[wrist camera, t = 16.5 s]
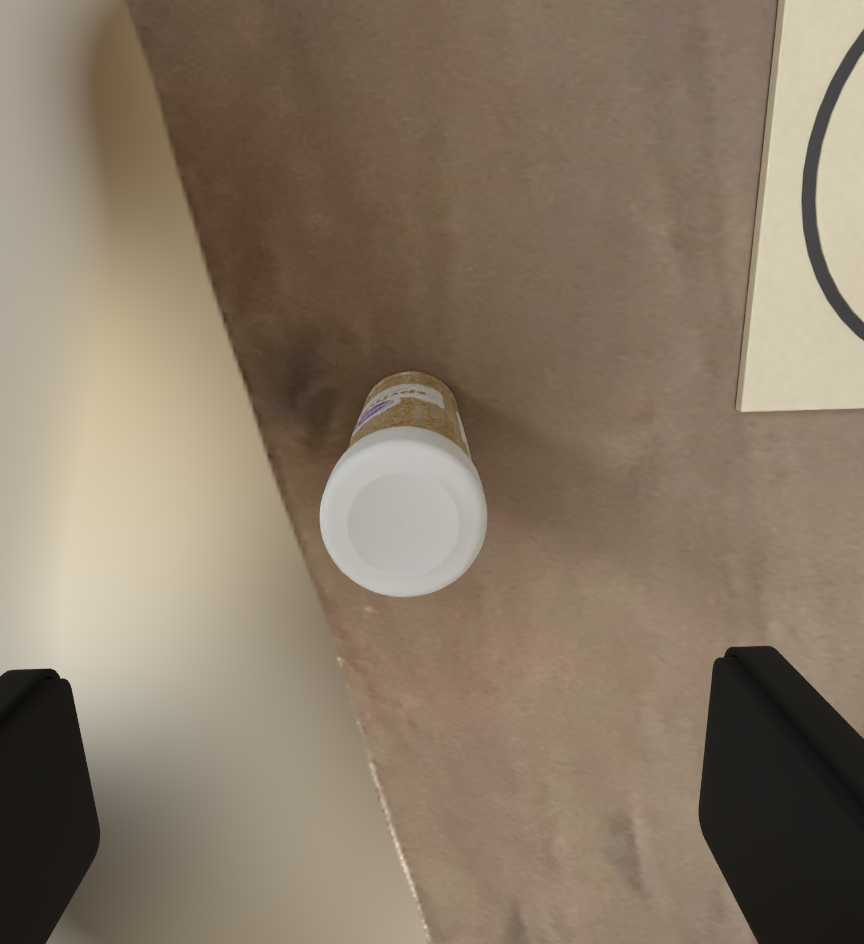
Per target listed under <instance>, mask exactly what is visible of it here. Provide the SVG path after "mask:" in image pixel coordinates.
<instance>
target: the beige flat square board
mask: <svg viewBox="0 0 864 944" xmlns="http://www.w3.org/2000/svg"><path fill="white" fill-rule="evenodd" d="M863 408H864V0H779V2H778V12H777V21H776V30H775V40H774V49H773V59H772V68H771V78H770V87H769V97H768V106H767V116H766V125H765V134H764V144H763V153H762V163H761V172H760V182H759V191H758V201H757V210H756V220H755V229H754V238H753V248H752V257H751V267H750V276H749V286H748V295H747V305H746V314H745V324H744V333H743V342H742V352H741V361H740V371H739V380H738V390H737V399H736V410H738V411H740V412H763V411H796V410H830V409H863Z"/></svg>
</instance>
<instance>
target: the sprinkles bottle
mask: <svg viewBox="0 0 864 944" xmlns="http://www.w3.org/2000/svg"><path fill="white" fill-rule="evenodd" d="M320 527H321V533H322V537H323V541H324V543H325V546H326V548H327V550H328V552H329V555H330V556H331V558H332V559H333V561H334V562H335V564H336V565H337V566H338V568H339V569H340V570H341V571H342V572H343V573H344V574H345V575H347V576H348V577H349V578H350V579H351V580H353V581H354V582H356V583H357V584H359V585H360V586H362V587H364V588H366V589H368V590H371V591H373V592H376V593H379V594H383V595H388V596H394V597H413V596H420V595H425V594H428V593H432V592H435V591H437V590H439V589H441V588H444V587H445V586H447V585H449V584H450V583H452V582H454V581H455V580H457V579H458V578H459V577H460V576H461V575H462V574H463V573H464V572H465V571H466V570H467V569H468V568H469V567H470V566H471V564H472V563H473V561H474V560H475V559H476V557H477V555H478V554H479V552H480V549H481V547H482V544H483V542H484V538H485V534H486V529H487V507H486V500H485V495H484V491H483V487H482V483H481V480H480V477H479V474H478V472H477V470H476V468H475V466H474V464H473V463H472V461H471V455H470V451H469V447H468V443H467V439H466V436H465V432H464V429H463V426H462V422H461V419H460V415H459V411H458V406H457V402H456V400H455V398H454V396H453V394H452V393H451V391H450V390H449V388H448V387H447V386H446V385H445V384H444V383H442V382H441V381H440V380H438V379H437V378H435V377H433V376H431V375H427V374H425V373H421V372H418V371H407V372H400V373H396V374H394V375H391V376H389V377H386V378H384V379H383V380H381V381H380V382H379V383H378V384H376V385H375V386H374V388H373V389H372V390H371V392H370V393H369V395H368V396H367V398H366V400H365V403H364V406H363V410H362V413H361V415H360V417H359V419H358V422H357V424H356V427H355V429H354V432H353V434H352V437H351V442H350V445H349V448H348V450H347V451H346V452H345V453H344V454H343V455H342V457H341V458H340V459H339V461H338V462H337V464H336V466H335V467H334V469H333V471H332V473H331V475H330V477H329V480H328V483H327V485H326V488H325V491H324V494H323V497H322V501H321V507H320Z"/></svg>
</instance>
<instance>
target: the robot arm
mask: <svg viewBox="0 0 864 944" xmlns="http://www.w3.org/2000/svg"><path fill="white" fill-rule="evenodd" d="M699 821H700V826H701V830H702V833H703V836H704V838H705V840H706V842H707V844H708V846H709V848H710V850H711V852H712V854H713V856H714V858H715V860H716V862H717V864H718V866H719V868H720V870H721V872H722V874H723V875H724V877H725V879H726V881H727V883H728V885H729V887H730V889H731V891H732V893H733V895H734V897H735V899H736V901H737V903H738V905H739V907H740V909H741V911H742V913H743V915H744V917H745V918H746V920H747V922H748V924H749V926H750V928H751V930H752V932H753V934H754V936H755V938H756V940H757V942H758V944H864V739H863V738H862V737H861V736H860V735H859V734H858V733H857V732H856V731H855V730H854V729H853V728H852V727H851V726H850V725H849V724H848V722H847V721H846V720H845V719H844V718H843V717H842V716H841V715H840V714H839V713H838V712H837V711H836V710H835V709H834V708H833V707H832V706H831V705H830V704H829V703H828V702H827V701H826V700H825V699H824V698H823V697H822V696H821V695H820V694H819V693H818V692H817V691H816V690H815V689H814V688H813V687H812V686H811V685H810V684H809V683H808V682H807V681H806V680H805V678H804V677H803V676H802V675H801V674H800V673H799V672H798V671H797V670H796V669H795V668H794V667H793V666H792V665H791V664H790V663H789V662H788V661H787V660H786V659H785V658H784V657H783V656H782V655H781V654H780V653H779V652H778V651H777V650H776V649H775V648H773V647H771V646H750V647H730V648H729V649H727V651H726V653H725V656H724V658H717V659H716V660H715V662H714V665H713V672H712V682H711V692H710V701H709V711H708V721H707V731H706V741H705V751H704V761H703V770H702V780H701V790H700V800H699ZM99 841H100V827H99V822H98V817H97V812H96V807H95V802H94V797H93V792H92V787H91V782H90V777H89V773H88V767H87V762H86V757H85V752H84V748H83V743H82V738H81V733H80V728H79V723H78V718H77V713H76V708H75V704H74V698H73V693H72V688H71V686H70V683H69V682H68V680H66V679H60V676H59V675H58V673H57V672H56V671H55V670H53V669H25V670H10V671H7V672H6V673H4V674H3V675H1V676H0V944H46V942H47V940H48V938H49V937H50V935H51V933H52V931H53V930H54V928H55V926H56V924H57V923H58V921H59V919H60V917H61V916H62V914H63V912H64V910H65V909H66V907H67V905H68V904H69V902H70V900H71V898H72V897H73V895H74V893H75V891H76V890H77V887H78V886H79V884H80V883H81V881H82V879H83V877H84V876H85V874H86V872H87V871H88V869H89V867H90V865H91V863H92V862H93V860H94V858H95V856H96V853H97V850H98V847H99Z"/></svg>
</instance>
